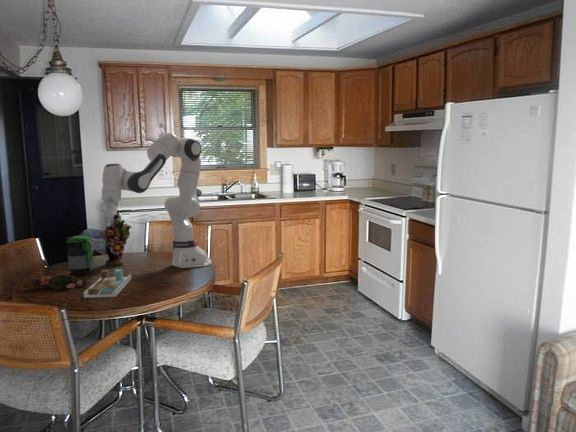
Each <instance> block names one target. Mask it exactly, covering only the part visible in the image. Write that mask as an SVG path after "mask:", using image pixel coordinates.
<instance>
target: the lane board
mask: <svg viewBox="0 0 576 432" xmlns="http://www.w3.org/2000/svg"><path fill="white" fill-rule="evenodd" d="M123 278H124V281H123V282H122V283H121V284H120V285H119V286H118V287H117V288H116V289H115V290H114V291H113V293H107V294H103V288H102V289H101V290H100V291H99V292H98V294H88V289H91V288H93V287H94V286H95V285H96V284H97V283H98V282H99V281H100V280H101V277H100V278H99V279H98V280H96V281H95V282H94V283H92V284H91V286H90V287H88V288H87V289H86V290H84V292H82V294H83V298H84V299H86V298H87V299H88V298H113V297H114V298H115V297H117V296H118V295H119V293H120V292H122V290H124V287H125V286H126V285H128V283H129V282H130V281H131V280H132V274H128V275H127V276H123Z"/></svg>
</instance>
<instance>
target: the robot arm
mask: <svg viewBox="0 0 576 432" xmlns="http://www.w3.org/2000/svg"><path fill="white" fill-rule="evenodd" d="M201 153H202V145H201V142H200V141H199V140H198V139H195V138H189V137H177V135H176V134H174V133H172V132H167V133H164V134H163V135H161V136H160V137H158V138H157V139H156V140H155V141H153V142H152V143H151V144H150V145H149V147H148V148H147V149H146V154H147V158H148V159H149V161H150V162H149V163H148V164H147V165H146V166H145V167H144V169H142V170H140V171H131V170H128V169H126V168H125V167H123V165H122V164H120V163H108V164H106V165H105V166H104V167H103V170H102V171H103V172H102V181H101V182H102V188H101V201H103V204H104V208H103V217H104V218H105V219H106V220H105V223H106V227H107V226H111V224H113V219H114V215H115V214H116V213H117V212H118V208H119V207H118V206H119V202H121V201H122V190H123V191H128V192H133V193H135V194H142V193H145V192H146V191H147V190H148V189H149V187H150V186H151V185H150V184H151V182H152V181H153V180H154V178H155V177H156V176H157V174H158V173H159V172H160V171H161V170H162V169H163V167H164V166H165V164H166V163H167V160H168V159H169V158H170V157H173V158H178V159H179V158H180V159H181V166H180V169H179V173H178V178H177V183H176V185H177V187H178V190H179V195H173V196H169V197H167V198H166V199H165V202H164V209H165V211H166V212H167V214H168V216H169V218H170V221H171V226H172V235H173V240H172V249H173V254H172V255H173V256H172V262H171V265H172V266H174V267H177V268H179V269H185V268H196V267H197V268H200V267H209V266H210V265H211V264H212V259H211V258H208V254H207V251H206V250H205V249H203V248H201V247H200V246H198V240H197V239H195V238H194V227H193V225H192V223H191V221H190V218H194V217H196V216H197V215H199V213H200V210H201V204H200V202H199V201H198V195H197V194H198V192H197V188H198V183H199V179H200V173H201V167H202V162H201V161H202V160H201V158H200V157H201ZM117 214H118V213H117Z"/></svg>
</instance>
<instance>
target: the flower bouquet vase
mask: <svg viewBox="0 0 576 432" xmlns="http://www.w3.org/2000/svg"><path fill="white" fill-rule="evenodd" d="M130 229H132V226H131V225H130V224H129V223H127V222H126V221H125V220H124V219H122V216H121V215H120V213H116V214H115V215H114V219H113V224H111V226H107V225H106V228H105V229H104V232H105V234H104V239H105V240H107V241H108V242H107V243H106V247H105V251H106V253H105V255H107V257H108V259H107V260H106V261H105V263H104V264H105V266H106V268H108V267H109V268H113V267H114V268H115V267H121V266H125V262H124V260H123V259H124V257H123V256H124V255H123V253H124V251H125V246H126V245H127V244H128V242H127V240H128V239H129V237H130Z"/></svg>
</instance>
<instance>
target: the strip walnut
mask: <svg viewBox="0 0 576 432" xmlns="http://www.w3.org/2000/svg"><path fill="white" fill-rule="evenodd" d="M109 277H110V269H102V270H101V271H100V278H101V280H100V281H99V282H98V283H97V284H96V285H95V286H94V287H93V288H91V289H88V288H87V289H88V294H98V292H99V291H100V290H101V289H102V288H103V280H104V279H105V278H109Z"/></svg>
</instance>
